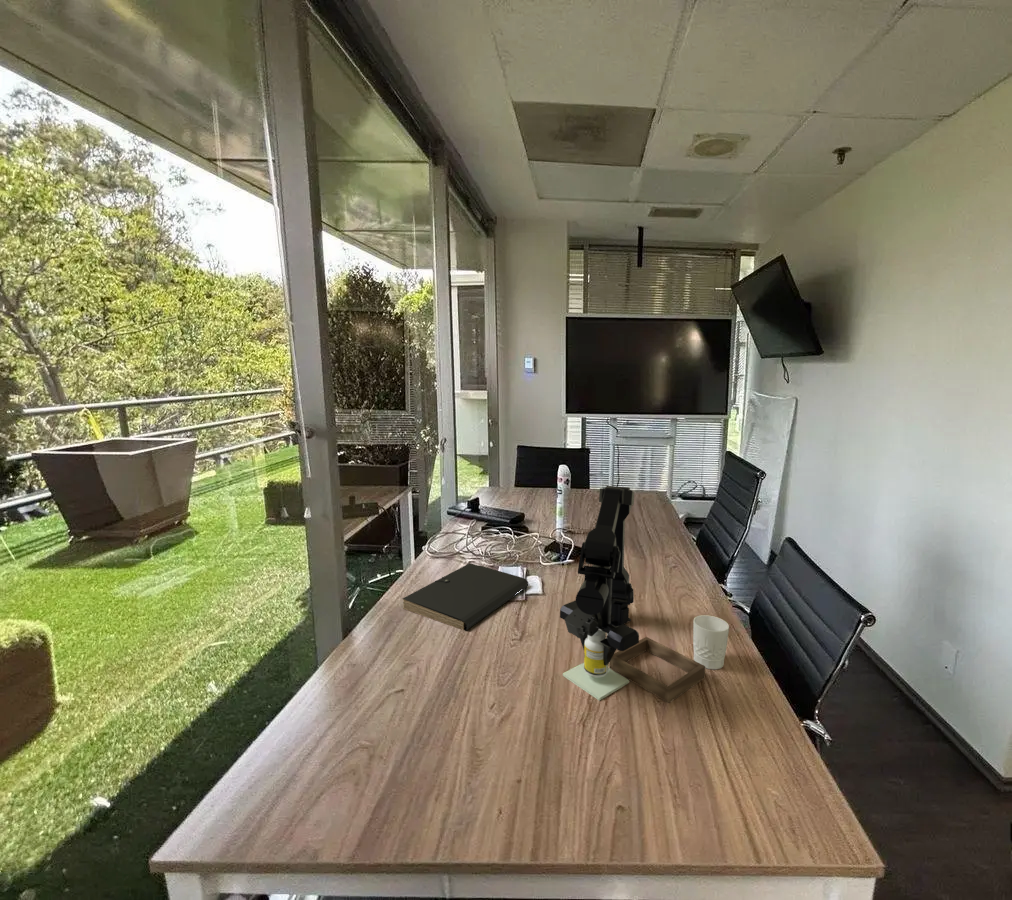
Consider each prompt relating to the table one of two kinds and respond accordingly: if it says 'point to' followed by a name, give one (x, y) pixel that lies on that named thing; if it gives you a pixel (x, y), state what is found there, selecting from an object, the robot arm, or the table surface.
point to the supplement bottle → (595, 655)
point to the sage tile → (596, 681)
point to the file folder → (464, 595)
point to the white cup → (710, 641)
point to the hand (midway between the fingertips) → (596, 658)
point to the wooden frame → (652, 684)
